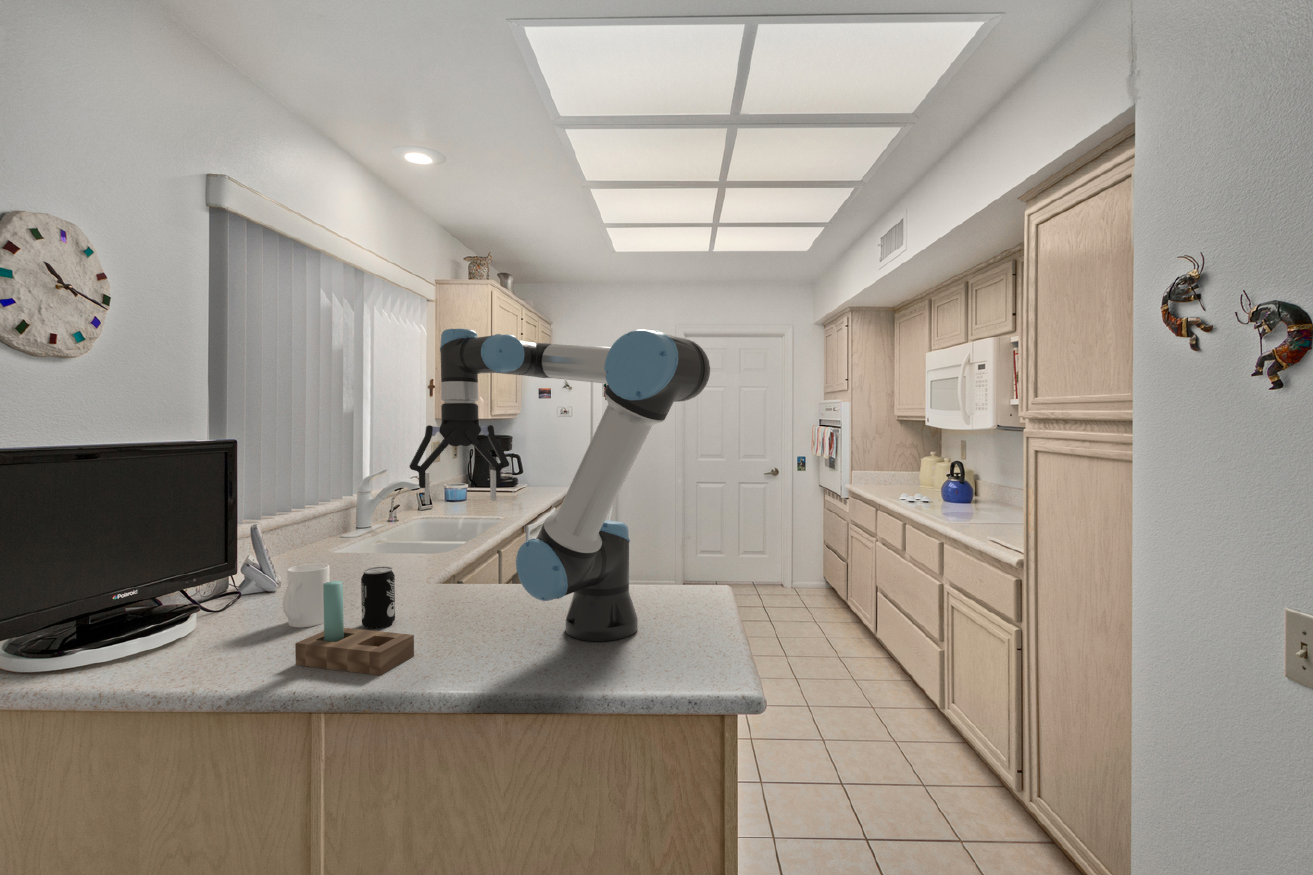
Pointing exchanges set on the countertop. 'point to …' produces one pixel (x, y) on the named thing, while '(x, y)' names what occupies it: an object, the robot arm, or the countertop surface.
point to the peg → (333, 611)
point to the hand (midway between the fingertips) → (461, 501)
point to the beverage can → (378, 597)
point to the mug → (305, 594)
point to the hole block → (356, 651)
